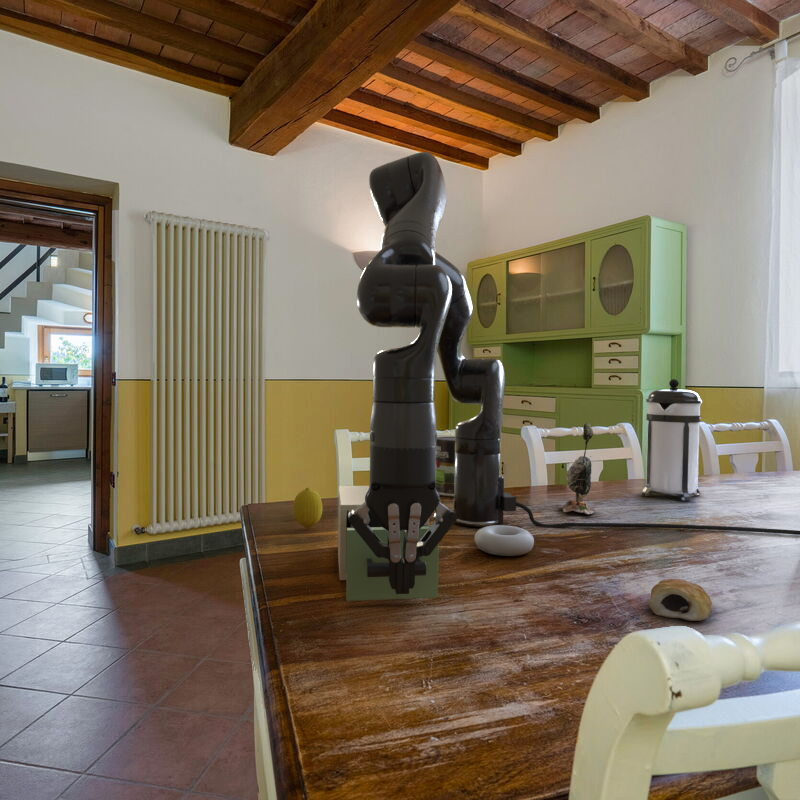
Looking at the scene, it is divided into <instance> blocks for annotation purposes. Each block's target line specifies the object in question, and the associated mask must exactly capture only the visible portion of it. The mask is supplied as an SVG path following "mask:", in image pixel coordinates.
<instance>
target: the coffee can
mask: <svg viewBox="0 0 800 800" xmlns="http://www.w3.org/2000/svg"><path fill="white" fill-rule="evenodd" d="M454 480H455V436H437V441H436V490H437V493H438V494H439V496H444V497H453V498H454Z"/></svg>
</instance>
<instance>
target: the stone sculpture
mask: <svg viewBox="0 0 800 800" xmlns="http://www.w3.org/2000/svg"><path fill="white" fill-rule="evenodd" d="M582 429H583V430H582V431H583V432H582V433H583V434H582V438H583V440H584V441H585V447H584V448H585V449H584V452H583V455H580V456H578V458H576V459H575V460H574V462H573V463H572V464H571V465H570V466H569V469H568V471H567V473H566V482H567V486H568V488H569V489H570V490H571V491H572V492H574V493H575V500H574V499H568V500H566V502H565V504H562V505H560V506H559V507H558V508H559V509H561V510H562V512H563V513H568V512H572V511H574V512H576V513H580V514H585V515H593V514H594V513H595V512H596V510H595V508H592V507H590V506H588V504H587V502H586V501H584V499H585V498H586V497H587V496H588V494H589V493H590V490H591V488H592V482H591V480H592V476H591V475H592V461H591V459H590V458H591V457H592V455H591V456H589V457H590V458H589V457H587V456H586V453H587V447H588V443H589V442H590V440H591V439H592V438H593V437H594V430H593V429H592V425H590V423H589V422H586V423H584V424H583V428H582Z"/></svg>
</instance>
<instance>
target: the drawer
mask: <svg viewBox="0 0 800 800" xmlns="http://www.w3.org/2000/svg"><path fill="white" fill-rule="evenodd" d="M368 515H369V517H370V523H369V524H368V525H369V527H370V528H371V529H372V531H373V532H374V533H375V534H376V536H377V537H378V538H379V539H380V541H381V542H382V543H385V544H388V541H387V532H386V529H384V528H383V527H382V526H381V525H380V523H379V522H378V520H377V519H376V518H375V516H374V515H373V514H372V512H371V511H369V513H368ZM430 527H431V525H430V524H429V525H428V524H427V522H426V523H425V524H424V526H423V527H421V528H420V529H419V536H418V542H419V541H420V539H421V538H422V537H423V536H424V534H425V533H426V532H427V530H428V529H429V528H430ZM403 531H404V530H401V531H400V548H401V557H403V551H402V550H403V539H404V534H403ZM418 542H417V543H418ZM439 544H440V542H439V543H438V545H437V546H436V547H435V549H434V550H433V551H432V553H431V554H430V555H428V556H422V557H419V558H418V559H417V560H416V562H415V585H414V587H413V589H409V594H396V592H395V589H392V588H391V586H390V583H389V560H388V559H386V558H383V557H381V558H379V557H377V556H376V555H375V554H374V553H373V551H372V550H371V549H370V548H369V546H368V545H367V544H366V543H365V541H364V540H363V539H362V538H361V536H360V535H359V534H358V533H357V531H356V530H355V529H354V528H353V526H352V525H351V524H350V523H349V528H347V564H346V580H345V581H346V584H345V592H346V593H345V600H346V602H354V601H355V602H357V601H384V600H385V601H386V600H410V599H411V600H413V599H435V598H436V599H437V598H438V597H439V556H440V555H439V553H440V552H439V550H440V549H439V547H440V546H439Z"/></svg>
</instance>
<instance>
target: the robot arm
mask: <svg viewBox="0 0 800 800" xmlns="http://www.w3.org/2000/svg"><path fill="white" fill-rule="evenodd" d="M444 177H445V176H444V173H443V171H442V168H441V166H440V163H439V161H438V159H437V158H436V156H435V155H433V154H432V153H431V152H428V151H421V152H416V153H413V154H410V155H407V156H404V157H401V158H399V159H396V160H393V161H390V162H387V163H385V164H382V165H379V166H377V167H374V168H373V169H372V170H371V171H370V173H369V177H368V185H369V189H370V193H371V194H370V195H371V197H372V200H373V204H374V206H375V208H376V210H377V212H378V215H379V217H380V219H381V221H382V223H383V226H384V230H383V233H382V236H381V242H380V249H379V251H378V252H377V253H376V254H375V255H374V256H373V258H372V259H371V260H370V261H369V262H368V264H367V265H366V266H365V268H364V270H363V272H362V273H361V276H360V278H359V282H358V286H357V290H356V305H357V309H358V311H359V314H360V316H361V317H362V318H363V320H364V321H366V322H367V323H368V324H369V325H371V326H373V327H376V328H413V329H414V328H417V329H419V332H418V335H417V337H416V338H415V339H414V340H413V341H412V342H410V343H408V344H406V345H402V346H396V347H392V348H386V349H383V350H380V351H378V352H377V353H376V354H375V356H374V357H373V362H372V406H371V415H370V422H369V485H368V486H369V490H368V492H367V493H366V496H365V502H364V503H363V504H362V505H360V506H359V507H358V508H357V509H355V510H354V509H353V510H350V511H349V513H348V519H349V523H350V524H351V525H352V526H353V528H354V529H355V530H356V531H357V533H358V534H359V535H360V536H361V538H362V539H363V540H364V541H365V543H366V544H367V545H368V546H369V548H370V549H371V550H372V551H373V553H374V554H375V555H376V556H377V557H379V558H381V557H383V558H386V559H388V560H389V583H390V586H391V588H392V589H395V592H396V594H409V589H413V587H414V585H415V562H416V560H417V559H418V558H419V557H422V556H428V555H430V554H431V553H432V551H433V550H434V549H435V547H436V546H437V545H438V543H439V544H440V543H441V541H442V540H443V539H444V537H445V536H446V534H447V533H448V532H449V531H450V530H451V528H452V527H453V525H455V524H458V525H461V526H463V527H464V526H465V527H472V528H484V527H487V526H494V525H504V512H516V511H517V507H518V508H520V509H523V510H524V511H525V512H526V513H527V514H528V517H529V521H530V522H531V523H532V524H533V525H535V526H537V527H541V528H569V527H570V528H571V527H574V528H639V529H640V528H643V529H645V528H646V529H677V530H678V529H679V530H681V529H682V530H708V531H729V532H731V531H732V532H747V533H749V532H751V533H765V534H780V535H781V534H783V535H793V536H794V535H795V536H796V535H797V536H800V530H796V529H781V528H780V529H779V528H765V527H751V526H750V527H749V526H748V527H747V526H730V525H729V526H728V525H708V524H707V525H705V524H681V523H680V524H679V523H678V524H677V523H640V522H638V523H636V522H635V523H634V522H633V523H632V522H626V523H625V522H560V523H549V524H548V523H542V522H539V521H538V520H535V518H534V514H533V511H532V510H531V509H530V507H528V506H527V505H525V504H523V503H522V502H521V503H520V502H519V501H517V496H515V495H513V494H511V493H509V492H507V491H506V492H505V477H504V476H503V475H501V466H502V465H501V458H502V453H501V452H502V427H503V421H504V419H503V417H504V416H503V415H504V398H505V385H506V373H505V368H504V365H503V363H502V361H500V360H499V359H497V358H467V357H465V356H464V354H463V351H462V347H461V345H462V341H463V339H464V337H465V334H466V332H467V331H468V328H469V325H470V323H471V320H472V317H473V314H474V313H473V312H474V311H473V310H474V305H473V300H472V297H471V294H470V291H469V289H468V285H467V282H466V278H465V277H464V275H463V273H462V272H461V271H460V269H459V268H458V267H457V266H456V265H454V264H453V263H452V262H451V261H449V260H448V259H446V258H445V257H444V256H442V255H441V254H440V253H438V252H436V237H437V233H438V229H439V226H440V224H441V221H442V220H443V216H444V213H445V210H446V206H447V198H448V197H447V196H448V193H447V187H446V182H445V178H444ZM437 355H438V358H439V362H440V365H441V369H442V373H443V376H444V379H445V380H444V381H445V383H446V387H447V389H448V392H449V394H450V397H451V398H452V399H453V400H454V401H455V402H456V403H459V404H464V405H481V408H480V412H479V413H478V414H476V415H475V416H473V417H472V418H470V419H469V418H468V419H466V420H463V421H460V422H457V423H456V425H455V428H454V434H455V435H454V437H455V480H454V497H453V509H452V508H451V507H448V506H446V505H444V504H443V503H442V502H441V497H440V495H439V494H438V493H437V490H436V441H437V437H438V432H437V416H436V415H437V414H436V409H435V408H436V407H435V392H436V391H435V388H436V387H435V386H436V383H435V382H436V381H435V380H436V379H435V378H436V364H437V363H436V361H437ZM369 511H371V512H372V514H373V515H374V516H375V518H376V519H377V520H378V522H379V523H380V525H381V526H382V527H383V528H384V529H386V532H387V541H388V544H385V543H382V542H381V541H380V539H379V538H378V537H377V536H376V534H375V533H374V532H373V531H372V529H371V528H370V527H369V525H368V524H369V523H370V517H369V515H368V513H369ZM433 513H434V514H433ZM432 515H433V523H432V524H431V525H430V526H431V527H430V528H429V529H428V530H427V532H426V533H425V534H424V536H423V537H422V538H421V539H420V541H419V542H418V536H419V529H420V528H421V527H423V526H424V524H425V523H426V521H427V520H428V519H429V520H430V517H431V516H432ZM401 530H404V531H403V534H404V539H403V550H402V551H403V557H401V548H400V531H401ZM417 542H418V543H417Z"/></svg>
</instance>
